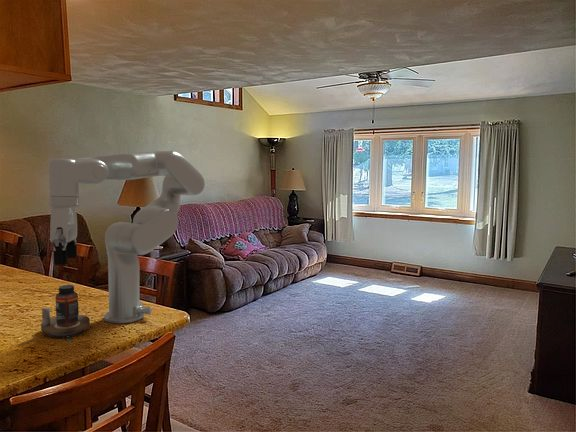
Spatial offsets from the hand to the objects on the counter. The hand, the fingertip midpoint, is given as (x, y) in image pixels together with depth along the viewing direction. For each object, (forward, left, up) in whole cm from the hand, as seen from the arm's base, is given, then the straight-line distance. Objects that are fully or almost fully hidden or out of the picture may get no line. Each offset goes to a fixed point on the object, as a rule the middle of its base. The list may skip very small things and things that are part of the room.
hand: (66, 260), depth 128 cm
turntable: (+2, -2, -20) cm, 21 cm away
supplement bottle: (0, 0, -19) cm, 19 cm away
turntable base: (+2, -1, -22) cm, 22 cm away
